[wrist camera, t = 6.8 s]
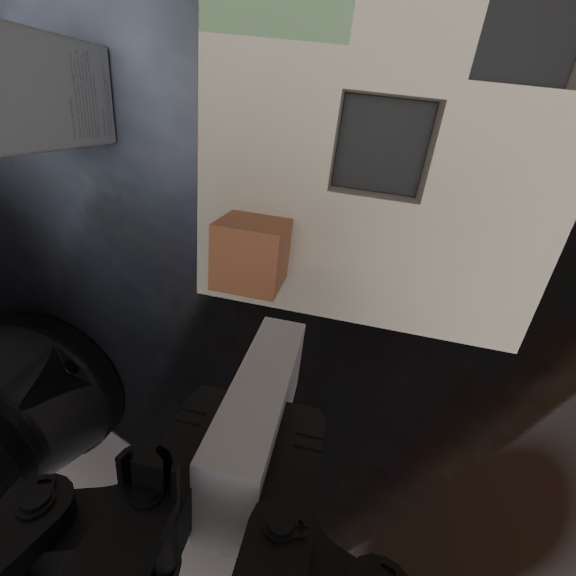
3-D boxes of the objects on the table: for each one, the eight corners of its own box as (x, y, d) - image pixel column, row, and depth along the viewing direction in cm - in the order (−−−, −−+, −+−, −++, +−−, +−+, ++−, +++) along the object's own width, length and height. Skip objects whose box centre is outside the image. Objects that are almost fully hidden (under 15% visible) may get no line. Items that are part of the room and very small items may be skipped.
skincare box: (51, 41, 25) (-199, -23, 14) (114, 46, 24) (-97, -18, 13) (66, 141, 27) (-135, 153, 16) (123, 148, 27) (-47, 165, 16)
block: (230, 266, 26) (207, 289, 22) (232, 209, 24) (209, 224, 21) (286, 276, 25) (273, 302, 22) (293, 218, 24) (279, 236, 20)
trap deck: (209, 280, 29) (187, 301, 26) (218, -91, 20) (186, -137, 17) (504, 334, 27) (525, 367, 23) (670, -70, 17) (749, -120, 14)
